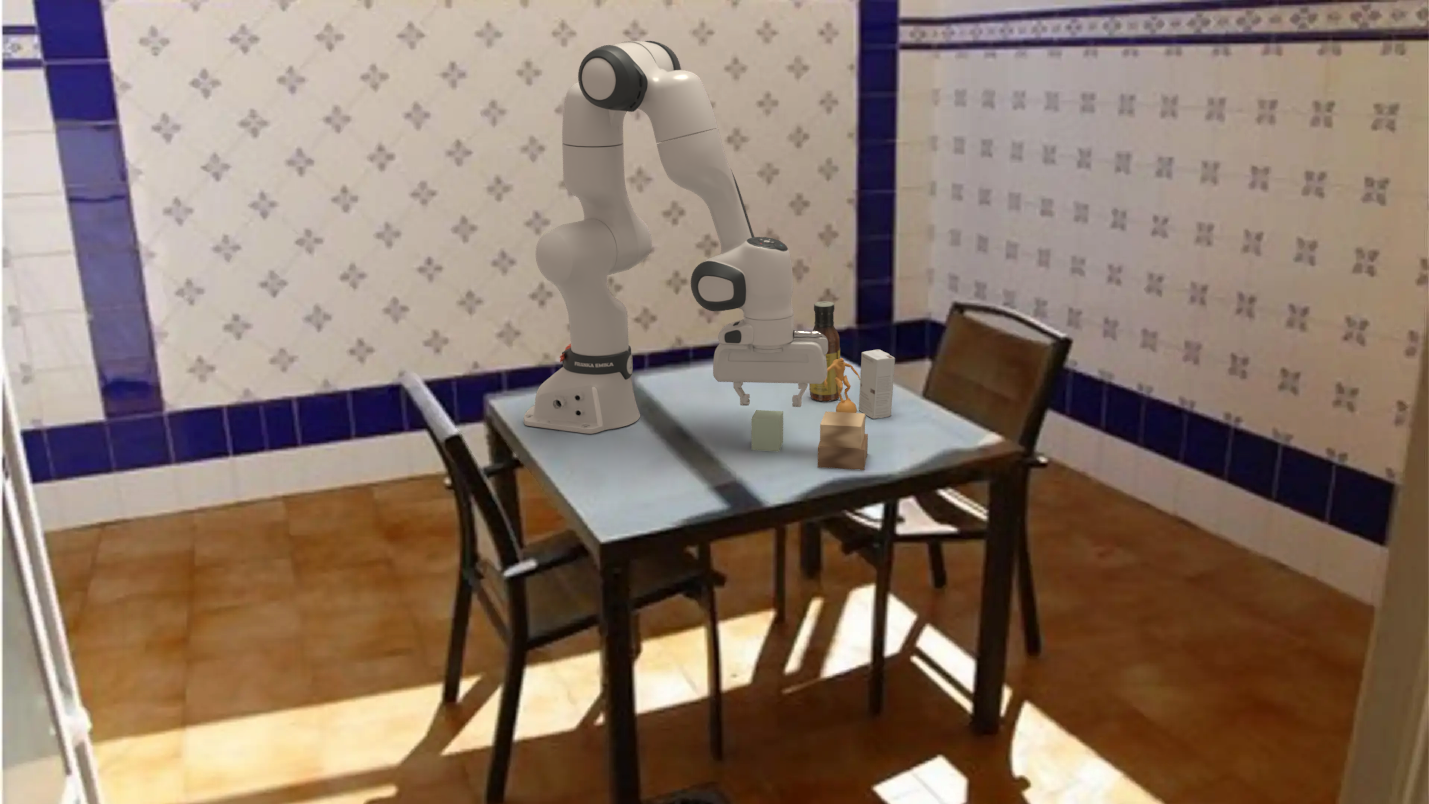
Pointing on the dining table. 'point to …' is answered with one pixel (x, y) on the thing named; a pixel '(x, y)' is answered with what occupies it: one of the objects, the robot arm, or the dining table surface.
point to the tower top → (842, 430)
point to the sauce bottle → (826, 327)
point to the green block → (767, 430)
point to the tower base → (843, 456)
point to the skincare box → (876, 383)
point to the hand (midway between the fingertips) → (770, 405)
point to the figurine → (839, 370)
